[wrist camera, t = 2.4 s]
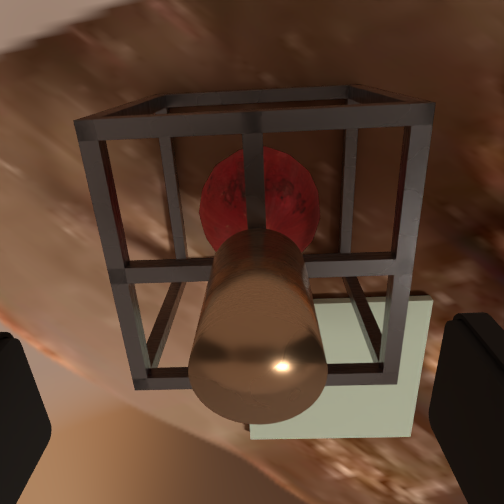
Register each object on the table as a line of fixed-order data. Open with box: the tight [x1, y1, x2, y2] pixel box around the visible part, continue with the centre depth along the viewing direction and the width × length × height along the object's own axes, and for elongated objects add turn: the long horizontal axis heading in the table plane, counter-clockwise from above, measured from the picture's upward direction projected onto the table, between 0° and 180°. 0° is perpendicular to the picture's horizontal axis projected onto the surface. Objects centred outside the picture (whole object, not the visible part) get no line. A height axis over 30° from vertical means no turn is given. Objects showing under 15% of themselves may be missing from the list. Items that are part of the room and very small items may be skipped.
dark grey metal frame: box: [73, 84, 436, 425], centre depth 16 cm, size 10×10×15 cm
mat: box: [250, 295, 433, 439], centre depth 28 cm, size 12×12×1 cm
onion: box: [199, 146, 320, 252], centre depth 19 cm, size 6×6×8 cm
